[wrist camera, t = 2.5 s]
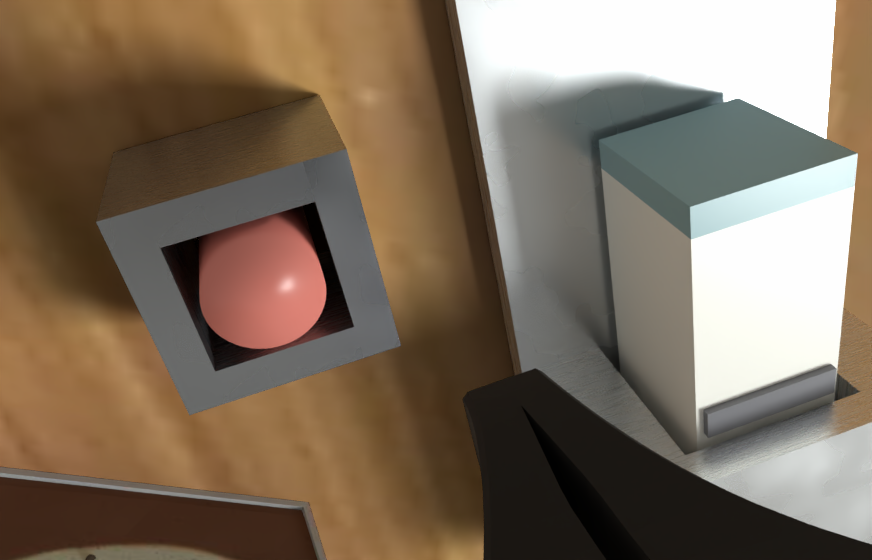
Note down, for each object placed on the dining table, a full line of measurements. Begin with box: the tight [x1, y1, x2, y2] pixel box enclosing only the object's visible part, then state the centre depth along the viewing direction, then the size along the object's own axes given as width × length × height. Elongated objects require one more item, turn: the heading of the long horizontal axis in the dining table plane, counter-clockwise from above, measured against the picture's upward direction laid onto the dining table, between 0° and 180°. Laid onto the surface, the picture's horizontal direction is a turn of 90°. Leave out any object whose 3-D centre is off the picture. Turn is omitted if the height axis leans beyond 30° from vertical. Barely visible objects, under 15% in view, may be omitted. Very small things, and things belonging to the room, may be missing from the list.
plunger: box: [199, 206, 326, 349], centre depth 18 cm, size 3×3×4 cm
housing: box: [445, 0, 872, 544], centre depth 21 cm, size 21×10×7 cm, turn 12°
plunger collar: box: [96, 95, 401, 415], centre depth 18 cm, size 5×5×4 cm
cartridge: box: [599, 98, 858, 455], centre depth 22 cm, size 14×4×5 cm, turn 12°
